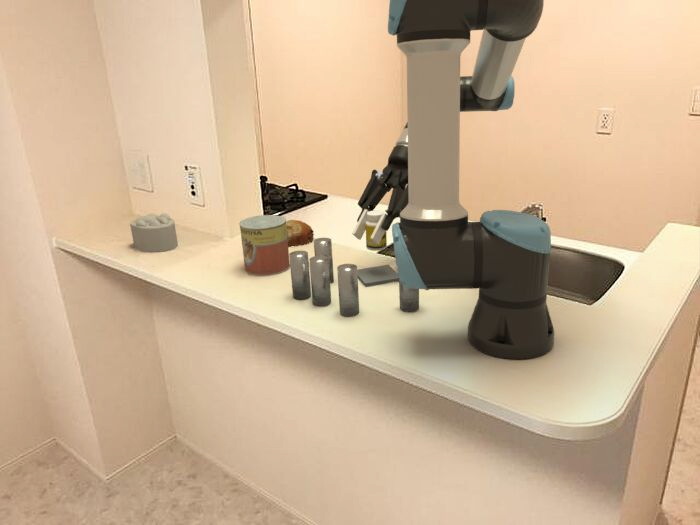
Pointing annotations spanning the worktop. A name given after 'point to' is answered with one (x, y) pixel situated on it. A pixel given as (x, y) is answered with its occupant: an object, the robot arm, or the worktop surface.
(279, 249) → the canned food
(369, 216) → the supplement bottle
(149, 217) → the lumpy-topped squat cylinder
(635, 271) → the worktop surface
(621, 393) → the worktop surface
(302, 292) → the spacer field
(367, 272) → the mat
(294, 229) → the bread roll
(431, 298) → the worktop surface
